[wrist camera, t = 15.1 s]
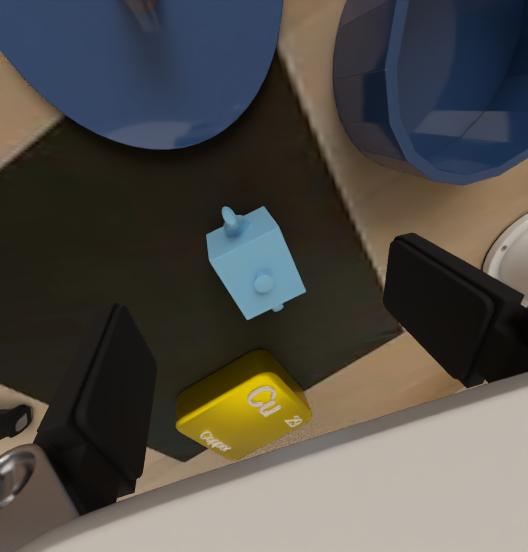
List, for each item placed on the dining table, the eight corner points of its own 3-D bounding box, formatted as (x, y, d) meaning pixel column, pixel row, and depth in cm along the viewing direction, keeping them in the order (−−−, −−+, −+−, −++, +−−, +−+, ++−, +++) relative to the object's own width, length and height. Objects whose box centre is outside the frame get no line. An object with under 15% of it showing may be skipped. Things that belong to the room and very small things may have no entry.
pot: (526, 99, 27) (626, 96, 21) (368, 201, 29) (416, 227, 23) (531, -183, 17) (720, -345, 11) (294, -1, 19) (343, -54, 13)
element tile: (170, 396, 38) (167, 430, 34) (262, 342, 36) (271, 371, 32) (229, 436, 46) (233, 467, 42) (307, 393, 44) (318, 421, 40)
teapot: (187, 200, 25) (185, 231, 19) (247, 170, 25) (265, 190, 18) (243, 293, 31) (256, 339, 25) (290, 270, 31) (315, 310, 25)
